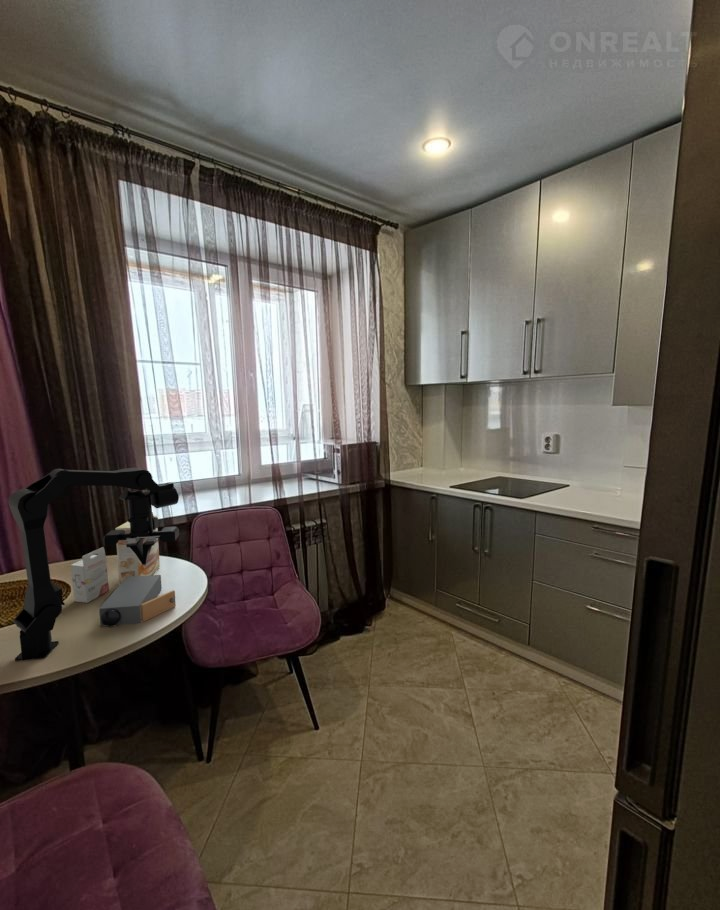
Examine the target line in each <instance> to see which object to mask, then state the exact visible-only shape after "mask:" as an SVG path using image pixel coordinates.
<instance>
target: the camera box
mask: <svg viewBox="0 0 720 910" xmlns="http://www.w3.org/2000/svg"><path fill="white" fill-rule="evenodd" d="M161 589H162V575H161V574H152V575H149V576H134V577H126V578H125V580H124V581H123V582H122V583H121V584H120V585H118V586H117V588H115V590H114V591H112V594H111V595H109V597H108V598H107V599H106V600H105V601H104V602H103V603H102V605H101V606H100V607H99V609H98V611H99V623H100V626H101V627H114V626H120V625H129V624H130V625H131V624H141V623H142V622H143V621H142V616H141V604H143V603H145V602H147V601H150V600H152V599H154V598H156V597H159V595H158V594H160V593H161V591H162V590H163V589H162V590H161Z"/></svg>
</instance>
